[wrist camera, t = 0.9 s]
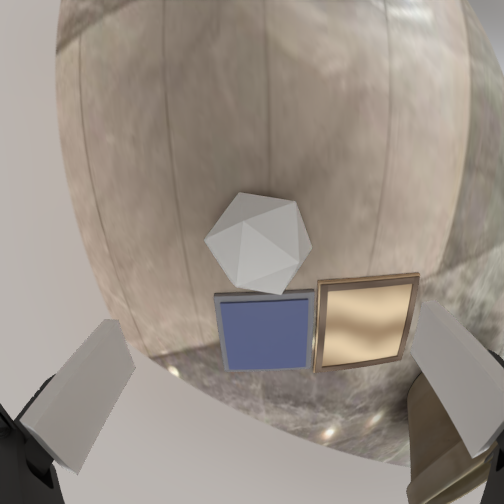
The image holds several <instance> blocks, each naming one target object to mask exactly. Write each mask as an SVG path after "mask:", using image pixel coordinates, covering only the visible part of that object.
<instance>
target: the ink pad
mask: <svg viewBox="0 0 504 504" xmlns="http://www.w3.org/2000/svg"><path fill="white" fill-rule="evenodd" d="M214 303H215V311H216V318H217V325H218V332H219V338H220V345H221V351H222V358H223V364H224V370H225V371H229V372H244V371H279V370H296V369H309V368H310V367H311V353H312V338H313V318H314V290H313V289H307V290H290V291H283V293H282V294H281V295H278V294H272V293H266V292H246V293H215V294H214Z"/></svg>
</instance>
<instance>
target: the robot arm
mask: <svg viewBox="0 0 504 504" xmlns="http://www.w3.org/2000/svg"><path fill="white" fill-rule="evenodd" d="M410 353H411V355H412V356H413V358H414V359H415V361H416V362H417V364H418V366H419V367H420V369H421V370H422V372H423V373H424V375H425V376H426V378H427V380H428V381H429V383H430V384H431V386H432V388H433V389H434V391H435V393H436V394H437V396H438V397H439V399H440V401H441V403H442V404H443V406H444V408H445V409H446V411H447V413H448V415H449V416H450V418H451V420H452V422H453V423H454V425H455V427H456V429H457V431H458V432H459V434H460V436H461V438H462V440H463V442H464V444H465V446H466V448H467V450H468V452H469V453H470V455H471V457H472V459H473V458H474V457H476V456H478V455H479V454H481V453H483V452H484V451H486V450H487V449H488V448H489V447H490V446H491V445H492V444H493V442H494V441H495V440H496V441H497V443H498V445H497V446H496V447H495V448H494V449H493V450H492V452H491V453H490V454H489V455H488V456H487V457H486V458H485V460H484V463H486V462H487V461H488V460H489V459H490V458H491V457H492V456H493V458H492V459H491V461H490V462H489V464H491V467H490V472H489V476H488V479H487V483H486V487H485V490H484V494H483V496H482V499H481V503H480V504H504V361H503V359H502V358H501V357H500V356H499V355H497V354H496V353H494V352H492V351H491V350H486V349H485V348H484V346H483V345H482V344H481V343H480V342H479V341H478V340H477V339H476V338H475V337H474V336H473V335H472V334H471V333H470V332H469V331H468V330H467V329H466V328H465V327H464V326H463V325H462V324H461V323H460V322H459V321H458V320H457V319H456V318H455V317H454V316H453V315H452V314H450V313H449V312H448V311H447V310H446V309H445V308H444V307H443V306H442V305H441V304H440V303H439V302H438V301H437V300H431V301H425V302H422V306H421V311H420V316H419V320H418V324H417V329H416V333H415V337H414V341H413V344H412V348H411V351H410ZM135 368H136V367H135V365H134V362H133V360H132V357H131V354H130V352H129V349H128V347H127V344H126V341H125V338H124V335H123V332H122V329H121V326H120V323H119V320H110V319H105V320H104V321H103V322H102V323H101V324H100V325H99V326H98V327H97V328H96V329H95V331H94V332H93V333H92V334H91V335H90V336H89V337H88V338H87V340H85V342H84V343H83V344H82V345H81V346H80V347H79V348H78V349H77V350H76V352H75V353H74V354H73V355H72V356H71V357H70V359H69V360H68V361H67V362H66V363H65V364H64V365H63V367H62V368H61V369H60V370H59V371H58V372H57V374H55V375H53V376H52V377H50V378H49V379H48V380H46V381H45V382H44V383H43V385H42V386H41V387H40V390H38V391H37V392H36V393H35V395H34V397H32V398H31V399H30V401H29V402H28V403H27V404H26V406H25V407H24V408H23V410H22V411H21V412H20V413H19V415H18V416H17V417H16V419H15V420H14V421H13V420H12V419H11V418H10V416H9V415H8V413H7V412H6V411H5V409H4V408H3V407H2V405H1V404H0V504H65V503H64V500H63V496H62V493H61V490H60V485H59V481H58V477H57V473H56V470H55V467H54V466H53V464H52V462H53V460H55V461H56V462H57V463H58V464H59V465H60V466H61V467H62V468H64V469H66V470H68V471H70V472H72V473H74V474H76V475H78V473H79V472H80V470H81V468H82V465H83V464H84V462H85V460H86V458H87V456H88V454H89V452H90V450H91V448H92V446H93V444H94V442H95V440H96V438H97V436H98V435H99V433H100V431H101V429H102V427H103V425H104V423H105V422H106V419H107V418H108V416H109V414H110V412H111V410H112V409H113V407H114V405H115V403H116V402H117V400H118V398H119V396H120V394H121V393H122V391H123V389H124V387H125V386H126V384H127V382H128V380H129V379H130V377H131V375H132V373H133V372H134V370H135Z"/></svg>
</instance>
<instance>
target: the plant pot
mask: <svg viewBox="0 0 504 504" xmlns="http://www.w3.org/2000/svg"><path fill="white" fill-rule="evenodd" d="M407 409H408V423H409V437H410V460H411V482H410V484H409V485H408V487H407V491H406V492H407V497H408V502H409V504H450V503H452V502H453V501H455V500H457V499H459V498H461V497H463V496H464V495H466V494H468V493H469V492H471V491H472V490H474V489H476V488H477V487H478V486H480V485H481V484H483V483H484V482H486V481H487V479H488V476H489V472H490V467H491V464H489V462H490V461H491V459H492V458H493V456H492V457H491V458H490V459H489V460H488V461H487V462H486V463H484V460H485V458H486V457H487V456H488V455H489V454H490V453H491V452H492V450H493V449H494V448H495V447H496V446H497V445H498V443H497V441H496V440H495V441H494V442H493V444H492V445H491V446H490V447H489V448H488V449H487V450H486V451H484V452H483V453H481V454H479V455H478V456H476V457H474V458H473V459H472V457H471V455H470V453H469V452H468V450H467V448H466V446H465V444H464V442H463V440H462V438H461V436H460V434H459V432H458V431H457V429H456V427H455V425H454V423H453V422H452V420H451V418H450V416H449V415H448V413H447V411H446V409H445V408H444V406H443V404H442V403H441V401H440V399H439V397H438V396H437V394H436V393H435V391H434V389H433V388H432V386H431V384H430V383H429V381H428V380H427V378H426V376H425V375H424V373H423V372H422V373H421V374H420V375H419V376H418V378H417V379H416V380H415V382H414V383H413V385H412V386H411V388H410V390H409V393H408V397H407Z"/></svg>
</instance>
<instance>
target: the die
mask: <svg viewBox="0 0 504 504" xmlns="http://www.w3.org/2000/svg"><path fill="white" fill-rule="evenodd" d="M204 241H205V243H206V244H207V246H208V248H209V249H210V251H211V252H212V254H213V255H214V257H215V258H216V260H217V262H218V263H219V265H220V266H221V268H222V269H223V271H224V272H225V274H226V275H227V277H228V278H229V280H230V281H231V282H232V283H233V284H234V286H235V287H238V288H243V289H249V290H255V291H260V292H266V293H272V294H278V295H281V294H282V293H283V291H284V290H285V288H286V287H287V286H288V284H289V283H290V281H291V280H292V278H293V277H294V275H295V274H296V272H297V271H298V269H299V268H300V266H301V265H302V263H303V262H304V260H305V259H306V257H307V256H308V254H309V253H310V251H311V250H312V245H311V242H310V239H309V236H308V234H307V231H306V228H305V225H304V222H303V220H302V217H301V214H300V211H299V209H298V206H297V203H296V201H290V200H285V199H279V198H273V197H266V196H260V195H254V194H247V193H240V192H239V193H238V194H237V195H236V197H235V198H234V199H233V201H232V202H231V203H230V205H229V206H228V207H227V209H226V210H225V211H224V213H223V214H222V216H221V217H220V218H219V220H218V221H217V222H216V224H215V225H214V226H213V228H212V229H211V231H210V232H209V233H208V235H207V236H206V237H205V239H204Z"/></svg>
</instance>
